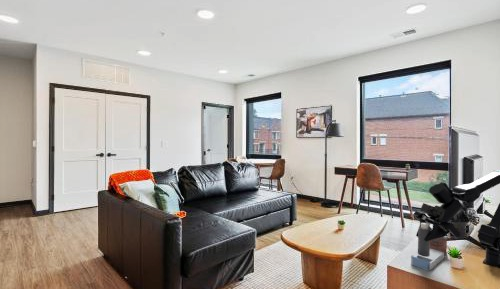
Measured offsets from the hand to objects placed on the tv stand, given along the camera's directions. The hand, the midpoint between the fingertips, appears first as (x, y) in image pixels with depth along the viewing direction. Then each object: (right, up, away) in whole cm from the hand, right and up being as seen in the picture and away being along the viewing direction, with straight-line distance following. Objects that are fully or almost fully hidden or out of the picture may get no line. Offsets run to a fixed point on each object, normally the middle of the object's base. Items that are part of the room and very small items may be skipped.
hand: (420, 238), depth 107 cm
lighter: (+16, -11, +14) cm, 24 cm away
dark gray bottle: (+1, -7, 0) cm, 7 cm away
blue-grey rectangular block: (+6, -11, +4) cm, 13 cm away
